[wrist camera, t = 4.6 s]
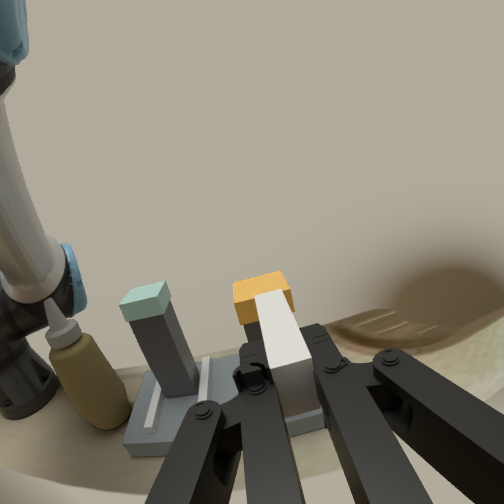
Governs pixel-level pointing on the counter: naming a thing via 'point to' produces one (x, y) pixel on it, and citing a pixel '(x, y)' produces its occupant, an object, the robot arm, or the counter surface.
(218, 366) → the console
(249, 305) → the orange capped grey block
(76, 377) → the squeeze bottle
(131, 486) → the counter surface
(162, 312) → the mint capped grey block
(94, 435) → the counter surface
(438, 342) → the counter surface
